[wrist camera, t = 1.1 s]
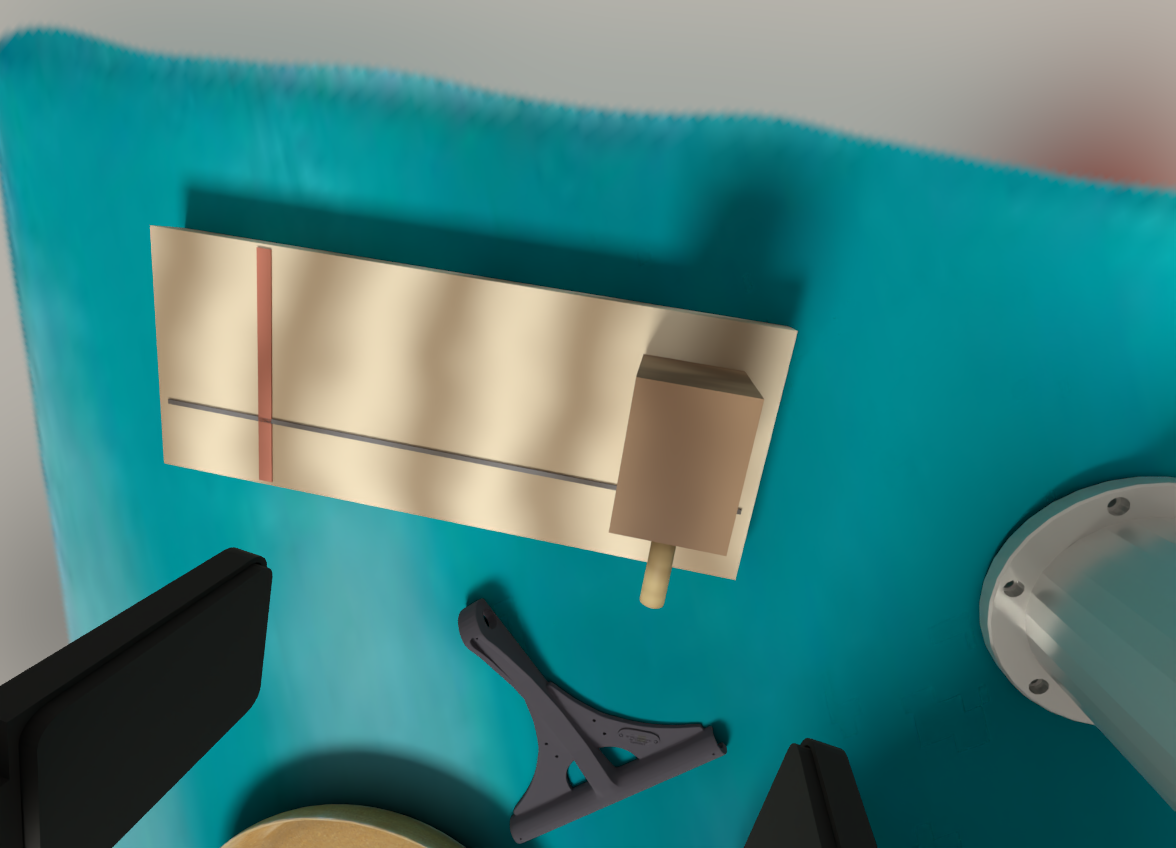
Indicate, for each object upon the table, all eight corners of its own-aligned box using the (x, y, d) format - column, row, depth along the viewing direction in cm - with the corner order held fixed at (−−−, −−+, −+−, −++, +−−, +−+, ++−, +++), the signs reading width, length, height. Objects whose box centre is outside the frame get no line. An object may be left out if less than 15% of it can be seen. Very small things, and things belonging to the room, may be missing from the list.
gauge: (744, 371, 25) (764, 399, 20) (700, 564, 28) (707, 634, 22) (643, 353, 25) (636, 376, 20) (609, 545, 28) (594, 610, 23)
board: (788, 326, 26) (798, 331, 24) (731, 559, 30) (735, 580, 28) (184, 227, 29) (148, 225, 27) (193, 451, 33) (162, 463, 31)
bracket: (578, 535, 31) (569, 559, 29) (725, 738, 33) (730, 778, 31) (386, 647, 35) (362, 678, 33) (529, 823, 37) (518, 866, 35)
